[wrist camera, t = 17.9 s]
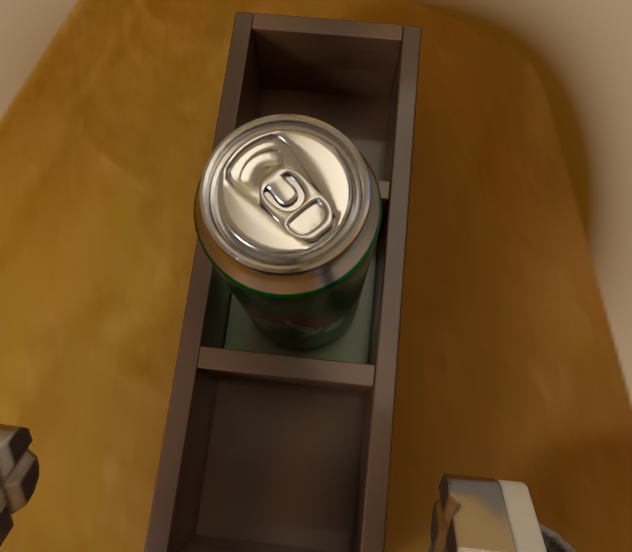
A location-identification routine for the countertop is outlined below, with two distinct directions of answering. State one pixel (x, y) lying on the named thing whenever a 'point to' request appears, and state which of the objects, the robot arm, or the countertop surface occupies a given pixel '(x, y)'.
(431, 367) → the countertop surface
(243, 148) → the soda can
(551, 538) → the grey stacked stone piece
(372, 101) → the wooden compartment tray
